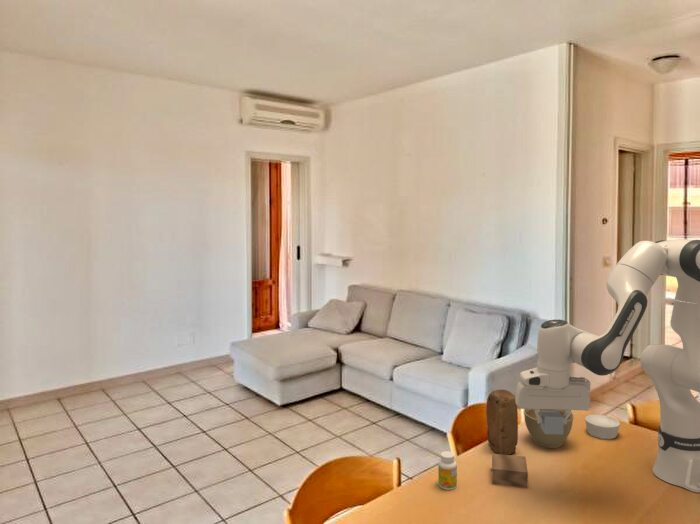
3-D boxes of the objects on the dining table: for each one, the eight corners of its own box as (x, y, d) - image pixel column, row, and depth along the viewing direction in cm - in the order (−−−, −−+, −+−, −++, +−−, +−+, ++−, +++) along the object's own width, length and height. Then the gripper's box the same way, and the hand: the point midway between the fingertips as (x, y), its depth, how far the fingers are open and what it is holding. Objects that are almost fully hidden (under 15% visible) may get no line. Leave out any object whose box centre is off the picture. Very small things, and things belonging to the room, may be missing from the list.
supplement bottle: (434, 485, 153) (434, 453, 152) (446, 478, 157) (446, 448, 156) (449, 492, 149) (448, 460, 148) (460, 485, 153) (460, 454, 152)
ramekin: (626, 438, 181) (627, 424, 181) (600, 443, 178) (600, 428, 178) (603, 426, 192) (603, 412, 192) (578, 430, 189) (578, 416, 189)
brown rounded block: (519, 454, 171) (520, 396, 169) (499, 457, 169) (499, 398, 168) (502, 440, 182) (502, 385, 180) (483, 443, 180) (483, 388, 178)
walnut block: (525, 472, 160) (525, 456, 160) (527, 488, 151) (527, 472, 150) (492, 468, 163) (492, 453, 163) (492, 484, 153) (492, 468, 153)
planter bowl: (517, 432, 188) (518, 404, 187) (562, 432, 187) (563, 403, 186) (531, 453, 172) (531, 422, 171) (580, 453, 171) (581, 421, 170)
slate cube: (557, 427, 151) (558, 410, 150) (563, 434, 146) (563, 417, 145) (540, 426, 151) (540, 410, 151) (545, 433, 146) (545, 416, 146)
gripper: (586, 374, 149) (585, 420, 150) (514, 372, 151) (513, 417, 152) (594, 381, 143) (593, 429, 144) (519, 379, 145) (518, 426, 146)
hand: (551, 423), depth 148 cm, fingers closed on slate cube, 5 cm apart
